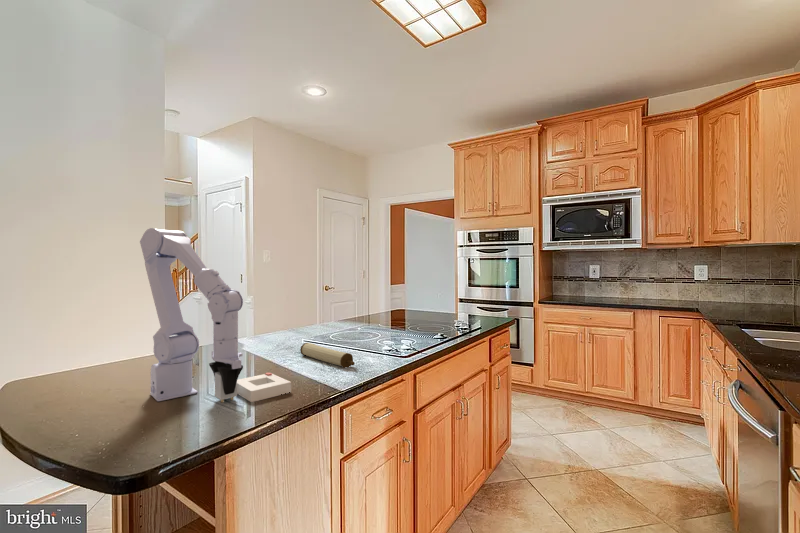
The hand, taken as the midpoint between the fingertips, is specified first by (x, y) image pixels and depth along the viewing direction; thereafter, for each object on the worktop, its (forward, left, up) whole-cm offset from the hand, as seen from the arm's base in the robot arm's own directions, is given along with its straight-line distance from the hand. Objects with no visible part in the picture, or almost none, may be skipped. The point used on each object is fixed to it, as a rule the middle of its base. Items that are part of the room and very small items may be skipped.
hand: (225, 391), depth 101 cm
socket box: (+10, 0, -2) cm, 10 cm away
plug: (0, 0, -2) cm, 2 cm away
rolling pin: (+41, +16, -3) cm, 44 cm away
